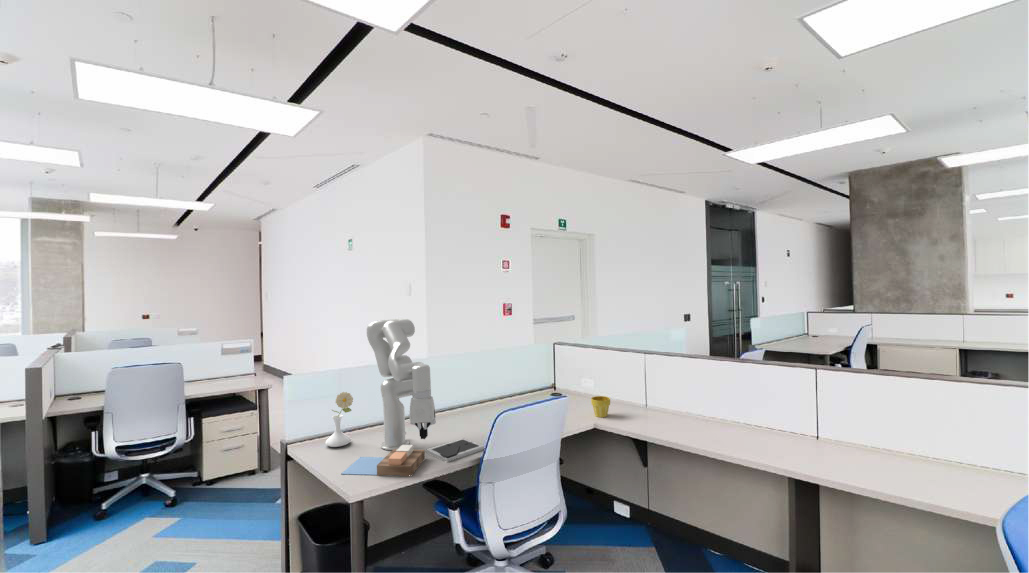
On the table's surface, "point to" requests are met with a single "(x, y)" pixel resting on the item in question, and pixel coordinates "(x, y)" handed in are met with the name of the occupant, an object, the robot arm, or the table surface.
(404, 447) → the white rectangular block
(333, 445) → the flower in vase
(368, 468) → the mat
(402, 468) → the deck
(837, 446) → the table surface
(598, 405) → the plant pot
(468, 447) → the picture frame
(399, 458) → the orange rectangular block
